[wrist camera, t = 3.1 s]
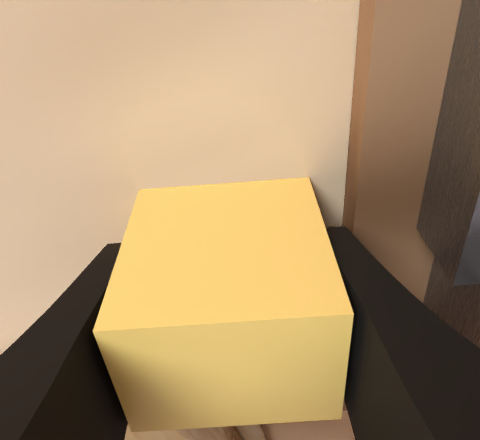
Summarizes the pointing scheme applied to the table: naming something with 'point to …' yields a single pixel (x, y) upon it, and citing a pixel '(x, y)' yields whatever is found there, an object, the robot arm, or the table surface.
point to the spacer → (226, 309)
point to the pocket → (457, 160)
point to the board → (396, 129)
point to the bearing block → (454, 303)
